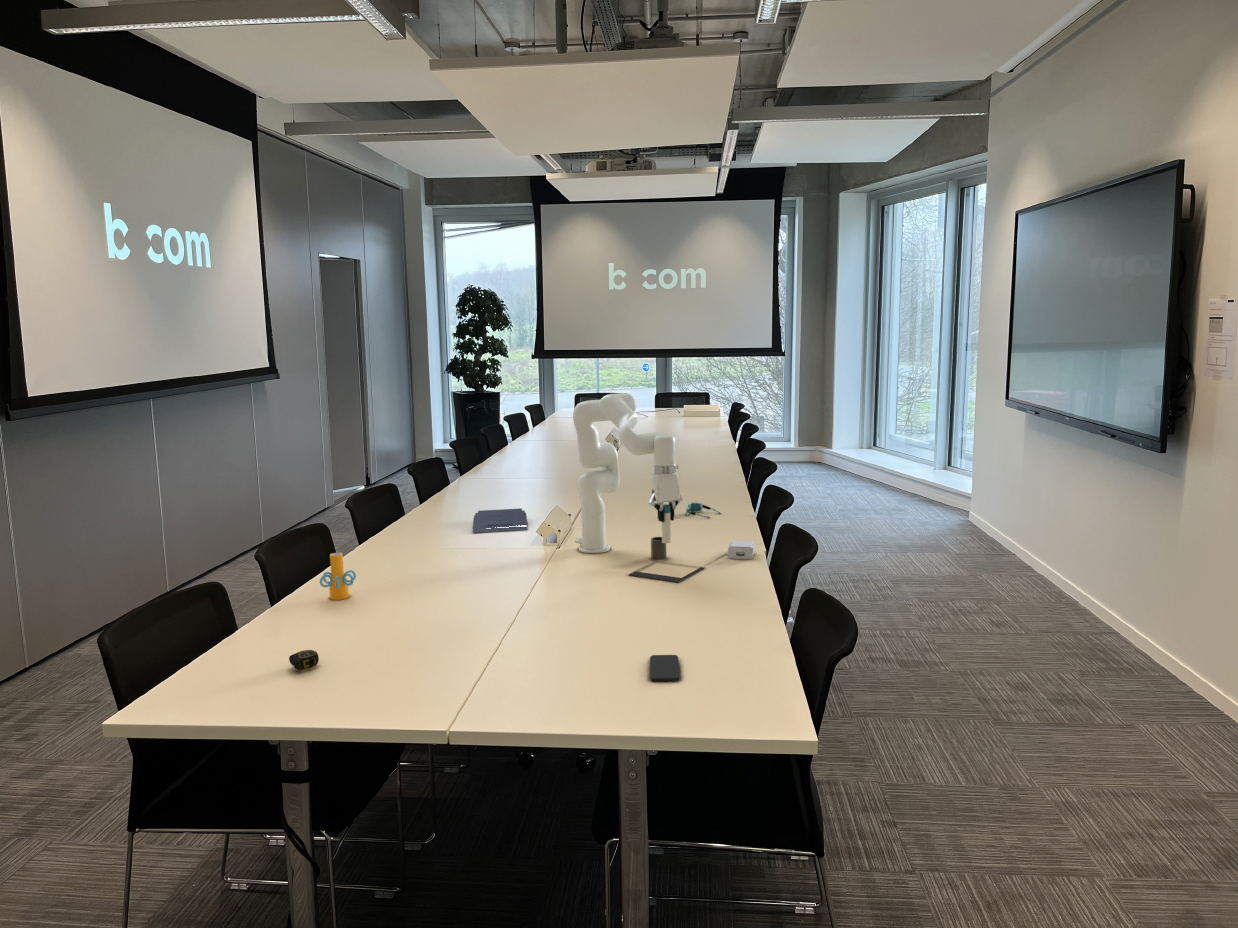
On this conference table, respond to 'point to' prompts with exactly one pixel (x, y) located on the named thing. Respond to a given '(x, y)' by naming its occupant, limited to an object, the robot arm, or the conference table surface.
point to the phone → (664, 668)
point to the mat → (664, 578)
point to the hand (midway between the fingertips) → (666, 520)
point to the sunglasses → (697, 508)
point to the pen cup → (658, 549)
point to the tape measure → (304, 659)
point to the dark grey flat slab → (499, 520)
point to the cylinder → (338, 578)
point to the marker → (666, 524)
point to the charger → (741, 550)
